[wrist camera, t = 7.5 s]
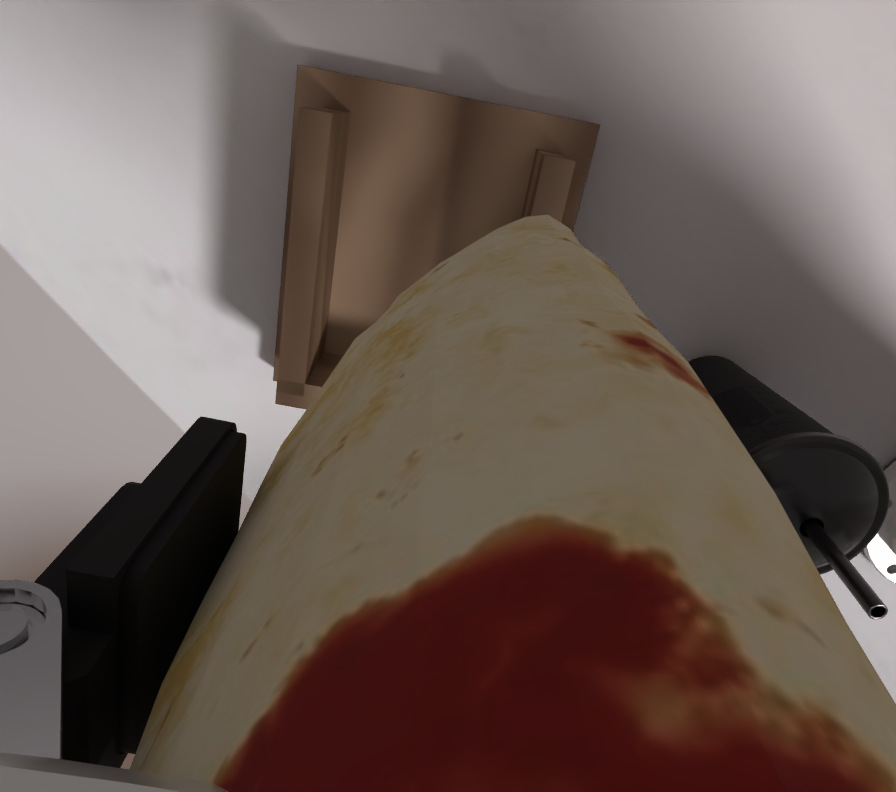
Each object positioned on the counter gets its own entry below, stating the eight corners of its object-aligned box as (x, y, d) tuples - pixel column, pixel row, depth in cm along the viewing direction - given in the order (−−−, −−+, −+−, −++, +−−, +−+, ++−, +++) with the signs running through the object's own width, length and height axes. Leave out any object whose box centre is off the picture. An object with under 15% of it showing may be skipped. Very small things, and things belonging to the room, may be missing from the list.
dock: (595, 123, 36) (618, 127, 30) (521, 416, 43) (528, 465, 37) (304, 66, 36) (269, 58, 30) (279, 371, 43) (247, 414, 37)
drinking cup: (623, 420, 43) (727, 653, 25) (682, 315, 40) (850, 492, 22) (726, 460, 44) (901, 713, 26) (792, 360, 41) (1042, 567, 23)
